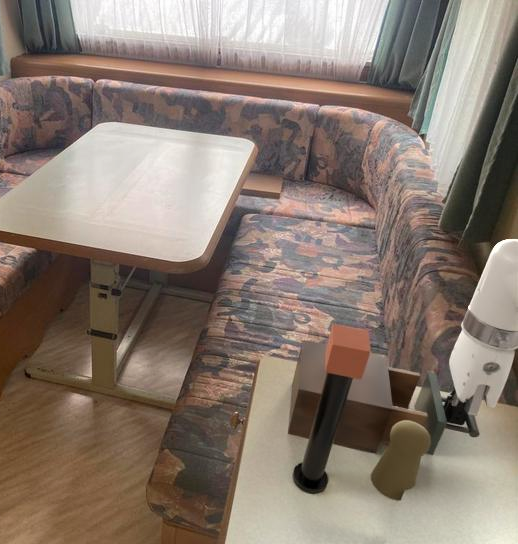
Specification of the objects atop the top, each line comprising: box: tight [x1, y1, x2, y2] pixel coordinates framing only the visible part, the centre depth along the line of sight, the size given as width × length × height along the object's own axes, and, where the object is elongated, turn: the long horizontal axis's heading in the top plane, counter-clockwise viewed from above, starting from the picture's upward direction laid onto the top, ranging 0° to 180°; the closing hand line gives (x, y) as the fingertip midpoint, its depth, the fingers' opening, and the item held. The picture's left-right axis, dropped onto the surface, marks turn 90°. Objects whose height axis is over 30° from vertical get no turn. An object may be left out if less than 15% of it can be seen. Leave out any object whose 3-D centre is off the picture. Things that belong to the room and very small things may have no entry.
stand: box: [292, 373, 353, 495], centre depth 78 cm, size 5×5×22 cm
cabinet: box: [287, 339, 393, 455], centre depth 93 cm, size 14×13×10 cm
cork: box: [370, 420, 431, 501], centre depth 82 cm, size 6×6×11 cm
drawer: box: [380, 366, 481, 456], centre depth 91 cm, size 18×11×8 cm, turn 75°
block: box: [325, 323, 371, 380], centre depth 71 cm, size 4×4×4 cm
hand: (451, 419), depth 90 cm, fingers closed
